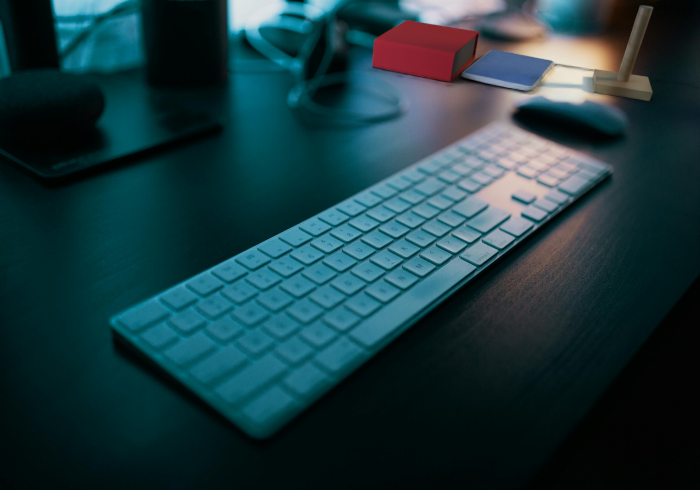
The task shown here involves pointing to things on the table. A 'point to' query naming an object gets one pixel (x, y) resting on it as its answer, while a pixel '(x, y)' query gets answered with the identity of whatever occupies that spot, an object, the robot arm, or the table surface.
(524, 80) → the tablet
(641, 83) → the stand
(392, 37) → the red box
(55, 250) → the table surface
